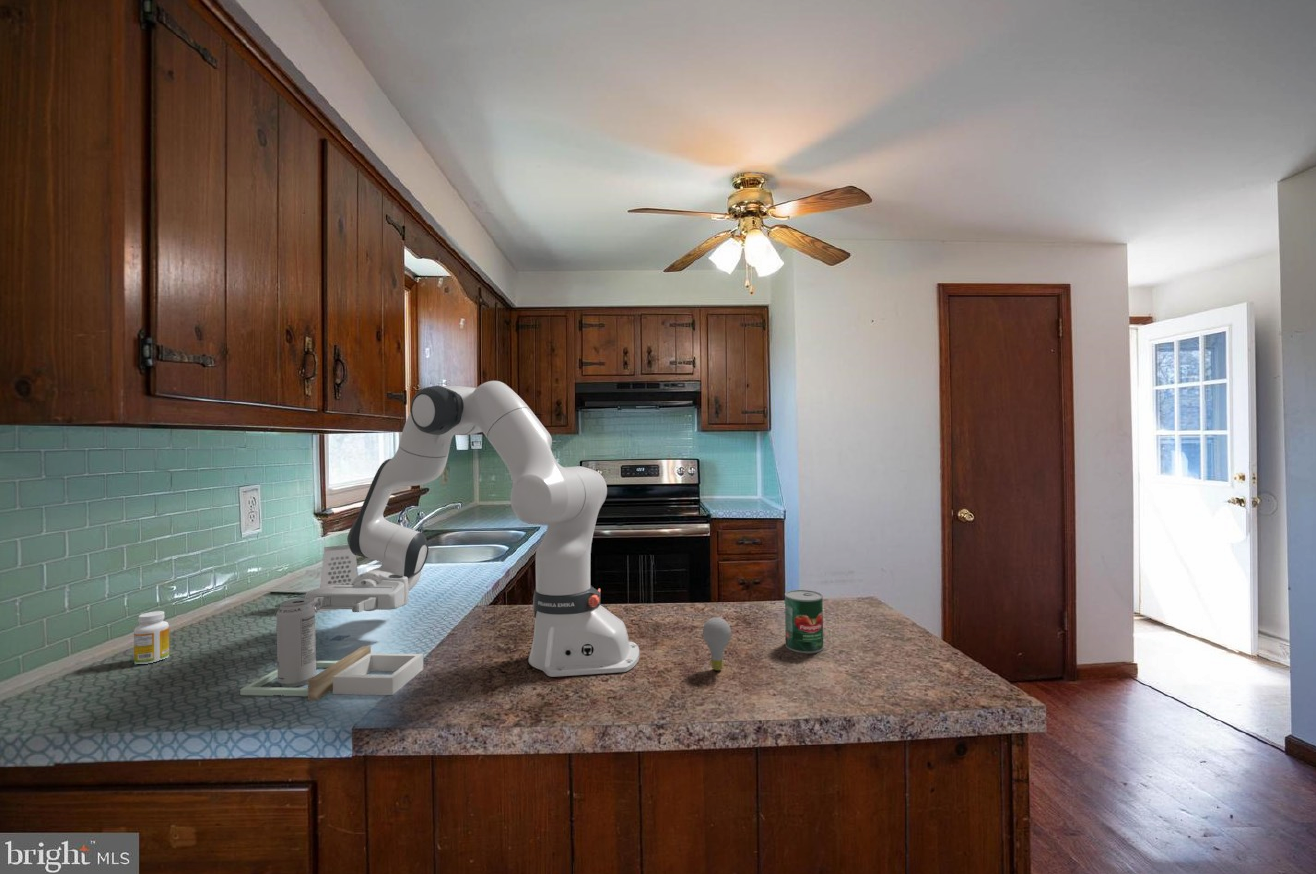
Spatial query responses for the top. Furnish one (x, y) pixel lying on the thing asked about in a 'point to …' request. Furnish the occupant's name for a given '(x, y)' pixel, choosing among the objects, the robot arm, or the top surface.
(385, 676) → the socket
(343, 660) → the rail
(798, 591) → the canned tomato
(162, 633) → the supplement bottle
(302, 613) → the energy drink can
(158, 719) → the top surface
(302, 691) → the socket
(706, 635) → the light bulb
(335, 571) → the grater
